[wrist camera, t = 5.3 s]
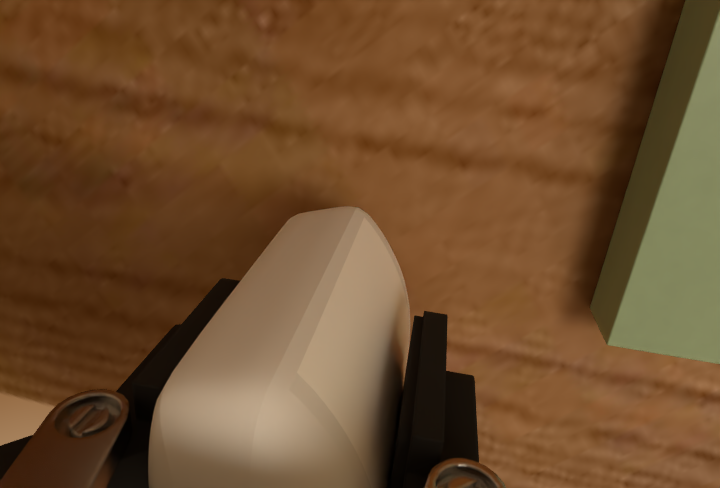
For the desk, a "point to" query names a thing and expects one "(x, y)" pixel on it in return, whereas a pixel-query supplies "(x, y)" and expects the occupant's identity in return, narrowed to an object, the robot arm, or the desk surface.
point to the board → (672, 210)
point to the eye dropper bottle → (293, 368)
